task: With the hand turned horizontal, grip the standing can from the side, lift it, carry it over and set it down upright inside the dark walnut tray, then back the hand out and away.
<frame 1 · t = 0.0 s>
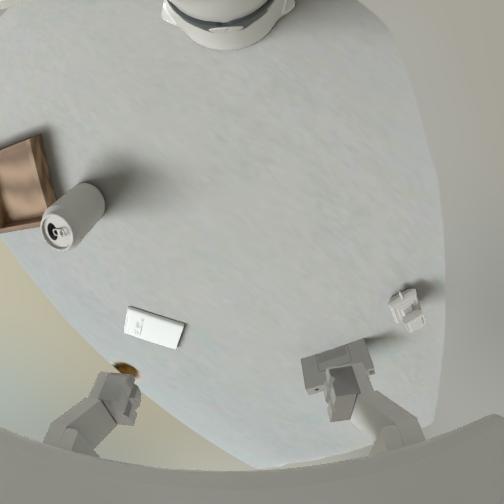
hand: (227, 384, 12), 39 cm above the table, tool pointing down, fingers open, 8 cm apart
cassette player: (333, 351, 69), on the table
external hard drive: (153, 325, 64), on the table
can: (89, 200, 48), on the table
tray: (21, 184, 45), on the table
stamp: (400, 298, 61), on the table
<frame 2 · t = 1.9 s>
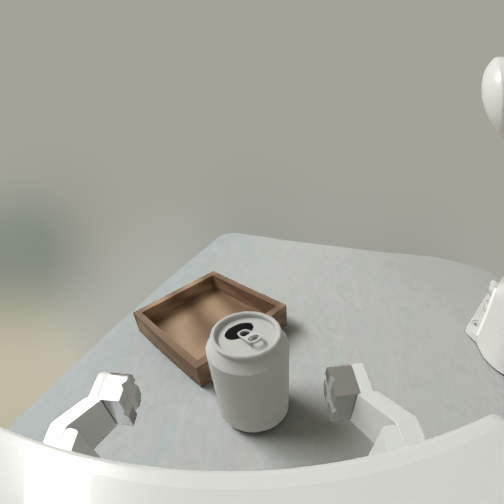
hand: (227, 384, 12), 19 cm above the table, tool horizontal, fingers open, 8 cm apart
can: (255, 410, 31), on the table
tray: (209, 329, 45), on the table
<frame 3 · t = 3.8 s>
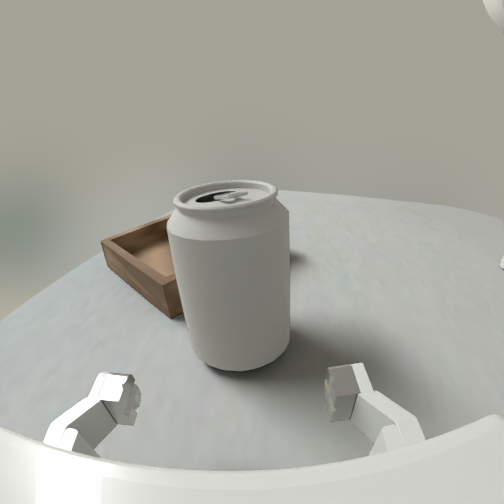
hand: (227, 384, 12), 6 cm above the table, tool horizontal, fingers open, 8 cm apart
can: (241, 345, 23), on the table
tray: (190, 260, 37), on the table
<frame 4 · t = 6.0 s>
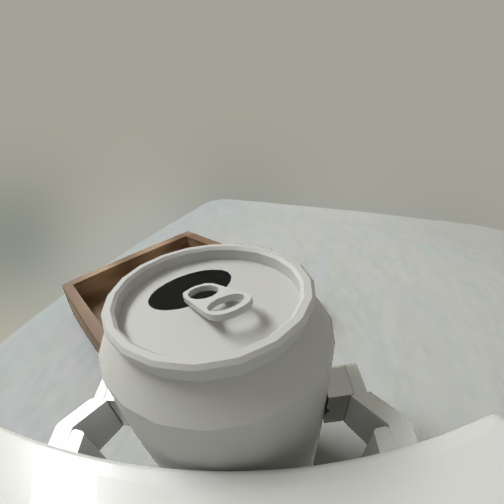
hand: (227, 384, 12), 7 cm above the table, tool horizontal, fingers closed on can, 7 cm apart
can: (242, 466, 14), on the table, touching gripper
tray: (174, 313, 27), on the table
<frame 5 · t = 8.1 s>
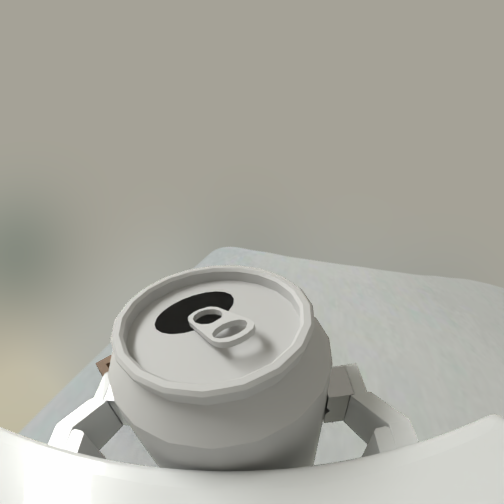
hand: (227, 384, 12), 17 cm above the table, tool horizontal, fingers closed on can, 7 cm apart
can: (244, 472, 14), point 9 cm above the table, touching gripper
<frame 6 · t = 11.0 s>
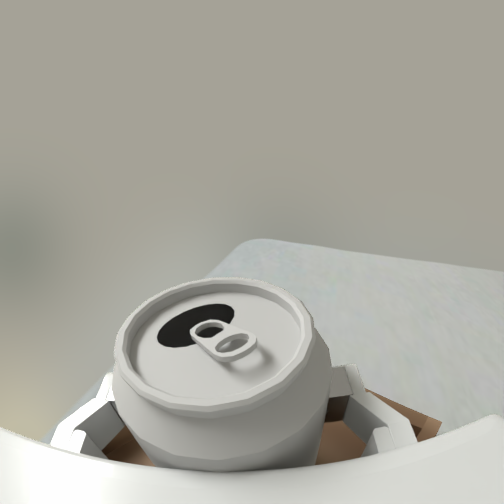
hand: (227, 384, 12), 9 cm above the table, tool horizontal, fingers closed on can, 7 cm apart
can: (245, 478, 14), point 1 cm above the table, touching gripper, tray
tray: (249, 479, 15), on the table
when the fingers open (9 cm above the table, at t = 11.3 s): can stays where it is, resting on tray.
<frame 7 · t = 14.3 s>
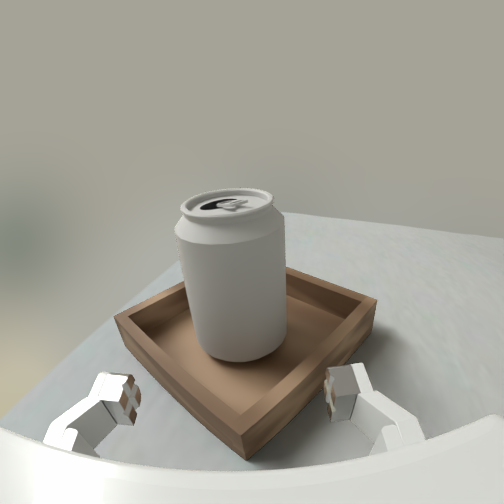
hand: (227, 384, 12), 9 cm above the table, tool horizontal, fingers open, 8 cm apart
can: (242, 339, 25), point 1 cm above the table, touching tray
tray: (245, 344, 26), on the table
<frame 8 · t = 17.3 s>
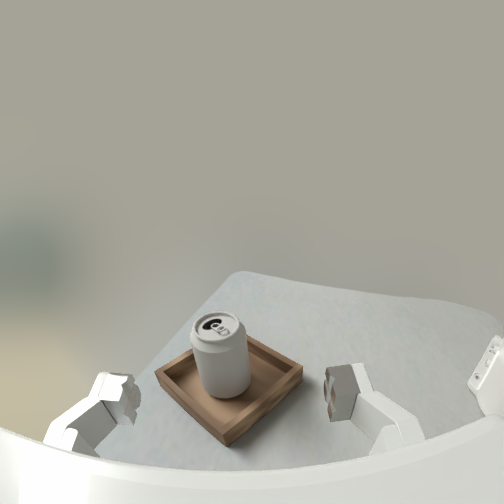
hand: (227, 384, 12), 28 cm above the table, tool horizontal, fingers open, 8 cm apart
can: (227, 383, 44), point 1 cm above the table, touching tray
tray: (229, 385, 45), on the table
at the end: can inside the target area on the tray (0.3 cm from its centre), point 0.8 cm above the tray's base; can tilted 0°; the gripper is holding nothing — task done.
